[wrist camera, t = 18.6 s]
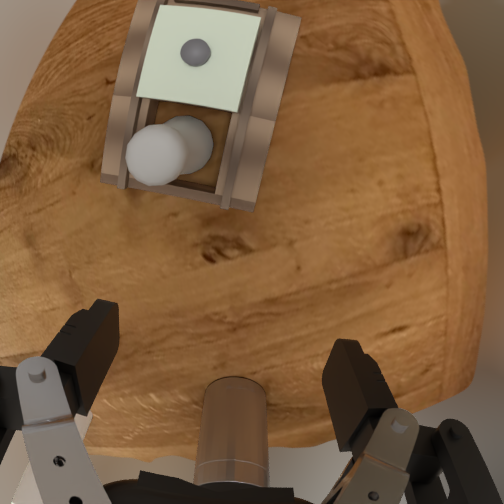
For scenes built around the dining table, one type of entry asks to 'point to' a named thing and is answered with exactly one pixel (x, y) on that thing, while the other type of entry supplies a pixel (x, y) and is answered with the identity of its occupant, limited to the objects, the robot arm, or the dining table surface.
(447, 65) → the dining table surface
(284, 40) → the board
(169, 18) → the cover
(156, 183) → the salt shaker
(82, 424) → the cylindrical container
